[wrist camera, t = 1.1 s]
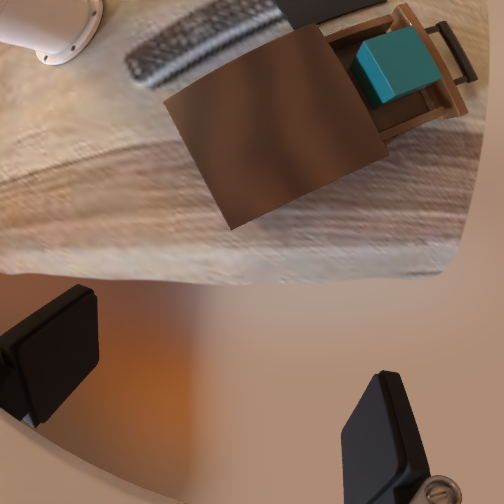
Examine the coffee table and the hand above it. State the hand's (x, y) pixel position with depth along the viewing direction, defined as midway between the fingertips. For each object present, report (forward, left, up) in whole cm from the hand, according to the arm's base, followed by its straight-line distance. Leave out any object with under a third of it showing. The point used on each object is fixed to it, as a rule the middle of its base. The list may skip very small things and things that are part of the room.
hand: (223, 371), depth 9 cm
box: (-9, +16, -24) cm, 30 cm away
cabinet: (-9, +4, -26) cm, 28 cm away
